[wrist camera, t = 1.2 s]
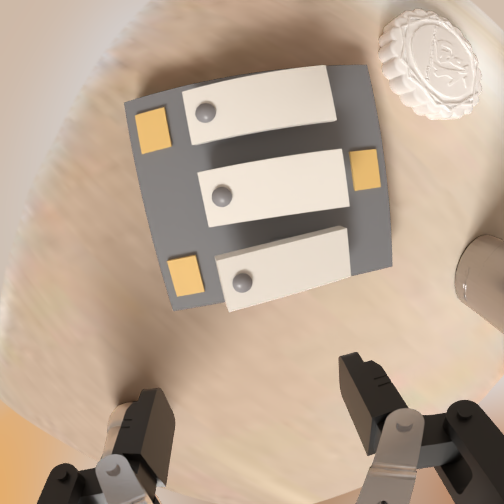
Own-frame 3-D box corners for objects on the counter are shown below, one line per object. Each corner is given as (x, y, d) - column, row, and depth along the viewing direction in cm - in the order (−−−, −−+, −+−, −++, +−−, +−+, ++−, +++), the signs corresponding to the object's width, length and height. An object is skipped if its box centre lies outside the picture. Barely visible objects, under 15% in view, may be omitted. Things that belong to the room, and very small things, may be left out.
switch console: (354, 72, 24) (374, 60, 20) (378, 256, 30) (399, 272, 25) (134, 107, 24) (117, 99, 20) (178, 296, 29) (170, 319, 25)
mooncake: (456, 139, 27) (477, 139, 23) (365, 89, 25) (382, 81, 22) (470, 52, 24) (489, 46, 20) (386, -1, 22) (401, -14, 18)
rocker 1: (323, 68, 19) (325, 64, 18) (334, 121, 20) (337, 119, 19) (187, 94, 21) (180, 91, 19) (196, 145, 22) (190, 145, 20)
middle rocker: (338, 148, 21) (342, 148, 19) (346, 203, 22) (350, 206, 21) (201, 171, 22) (196, 172, 21) (212, 223, 24) (208, 228, 22)
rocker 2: (339, 225, 24) (348, 228, 23) (343, 272, 25) (352, 277, 24) (214, 256, 22) (217, 261, 21) (226, 305, 24) (229, 313, 22)
